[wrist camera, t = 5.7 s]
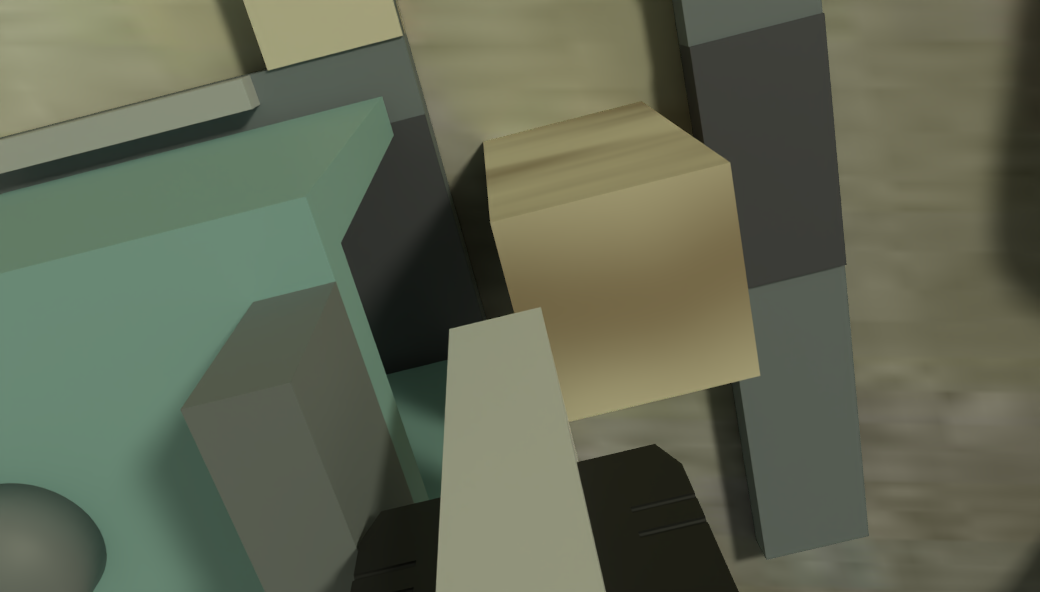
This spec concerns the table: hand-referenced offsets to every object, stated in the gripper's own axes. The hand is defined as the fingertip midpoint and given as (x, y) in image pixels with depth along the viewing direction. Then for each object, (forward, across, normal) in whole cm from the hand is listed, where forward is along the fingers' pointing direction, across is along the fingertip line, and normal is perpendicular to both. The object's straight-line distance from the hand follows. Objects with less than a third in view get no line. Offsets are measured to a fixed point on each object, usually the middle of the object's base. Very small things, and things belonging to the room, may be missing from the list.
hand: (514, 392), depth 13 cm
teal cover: (+9, +7, 0) cm, 11 cm away
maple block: (+11, -2, 0) cm, 11 cm away
